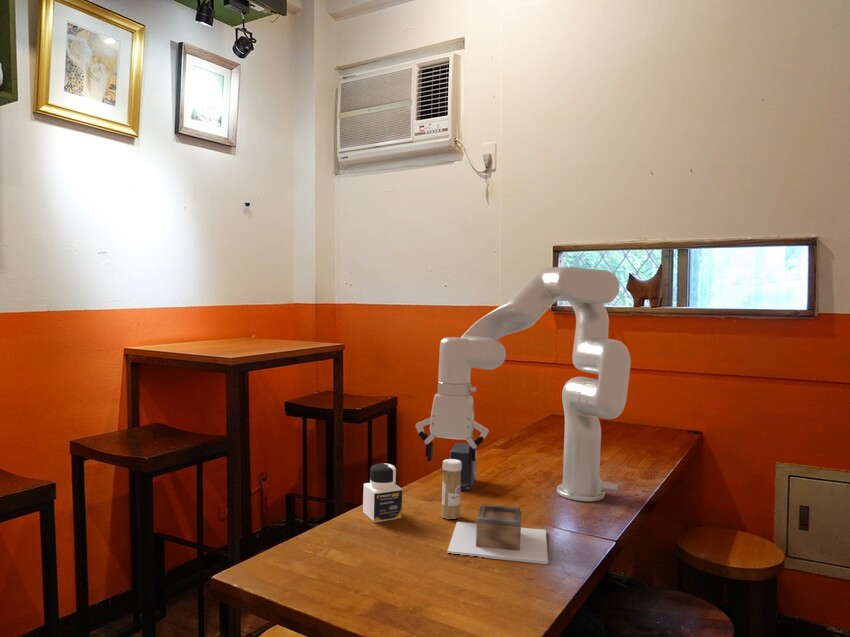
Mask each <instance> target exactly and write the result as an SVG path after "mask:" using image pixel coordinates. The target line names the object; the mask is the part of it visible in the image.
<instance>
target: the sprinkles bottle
mask: <svg viewBox="0 0 850 637" xmlns="http://www.w3.org/2000/svg"><path fill="white" fill-rule="evenodd" d="M441 466H442V482H441V484H442V485H441V487H442V488H441V489H442V490H441V515H440V516H441V517H443V519H444V518H446V519H445V520H447V519H456V518H458V519H460V518H459V517H461V514H460V512H461V509H460V508H461V491H462V490H461V488H460V483H461V469H462V462H461V461H460V460H456V459H450V458H448V459H444V460H442V465H441ZM456 520H457V519H456Z"/></svg>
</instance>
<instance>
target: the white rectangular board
mask: <svg viewBox="0 0 850 637" xmlns="http://www.w3.org/2000/svg"><path fill="white" fill-rule="evenodd" d="M476 529H477V522H466V521H465V522H464V521H456V524H455V526H454V530H453V533H452V536H451V538H450V542H449V544H448V547H447V548H448V549H447V551H446V554H447V553H453V554H460V555H459V556H463V555H470V556H469V557H473V556H478V557H477V558H482V557H484V559H493V560H502V561H514V562H521V563H522V562H523V563H530V564H531V563H532V564H541V565H548V564H549V558H548V557H549V556H548V546H547V544H548V542H547V531H546V530H547V529H542V528H541V529H540V528H528V527H521V536H520V551H515V550H505V549H495V548H485V547H476ZM453 554H452V555H453Z"/></svg>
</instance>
